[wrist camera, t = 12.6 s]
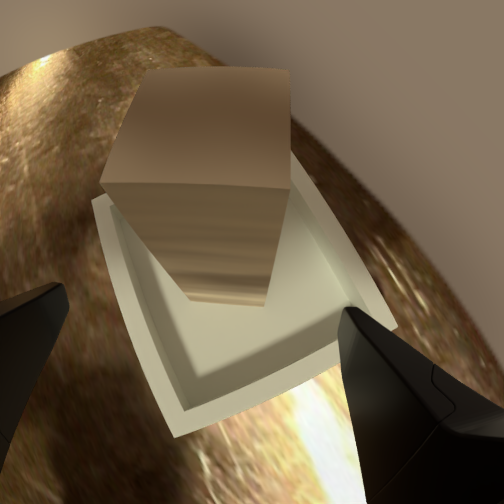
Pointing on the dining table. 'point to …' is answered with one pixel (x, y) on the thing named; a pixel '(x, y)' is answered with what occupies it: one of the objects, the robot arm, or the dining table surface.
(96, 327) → the dining table surface
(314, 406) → the dining table surface
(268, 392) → the tray
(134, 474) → the dining table surface
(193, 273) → the birch block
